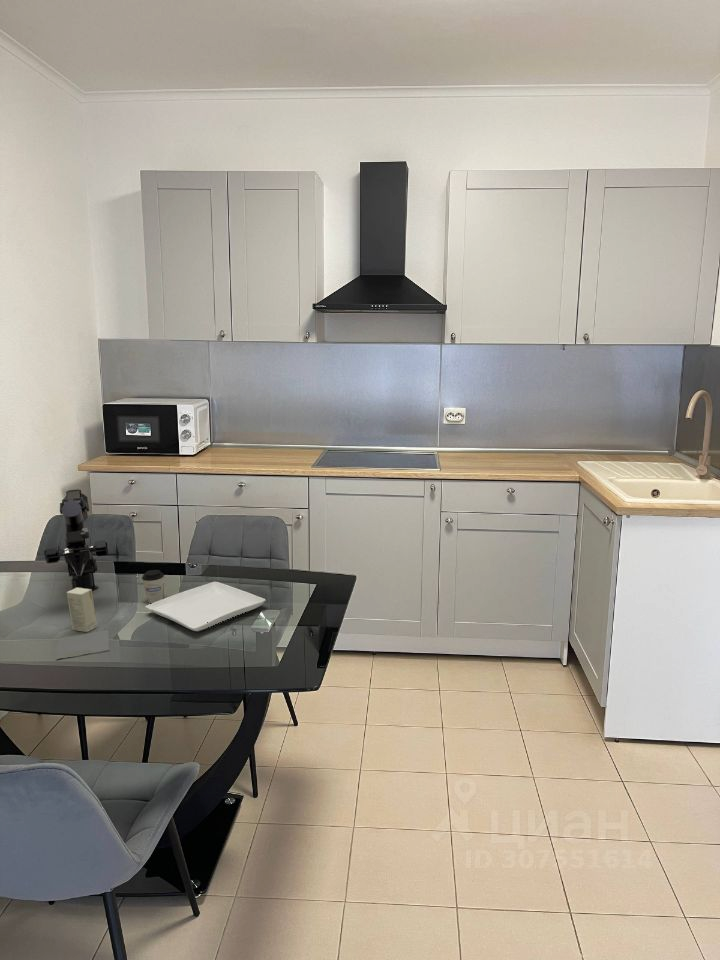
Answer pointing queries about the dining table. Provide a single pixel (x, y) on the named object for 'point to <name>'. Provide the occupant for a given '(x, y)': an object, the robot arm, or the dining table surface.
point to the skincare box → (82, 609)
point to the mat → (85, 642)
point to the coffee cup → (153, 585)
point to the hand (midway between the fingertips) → (79, 575)
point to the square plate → (205, 605)
